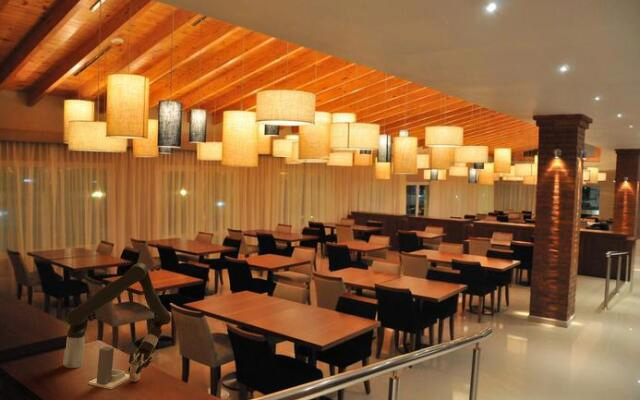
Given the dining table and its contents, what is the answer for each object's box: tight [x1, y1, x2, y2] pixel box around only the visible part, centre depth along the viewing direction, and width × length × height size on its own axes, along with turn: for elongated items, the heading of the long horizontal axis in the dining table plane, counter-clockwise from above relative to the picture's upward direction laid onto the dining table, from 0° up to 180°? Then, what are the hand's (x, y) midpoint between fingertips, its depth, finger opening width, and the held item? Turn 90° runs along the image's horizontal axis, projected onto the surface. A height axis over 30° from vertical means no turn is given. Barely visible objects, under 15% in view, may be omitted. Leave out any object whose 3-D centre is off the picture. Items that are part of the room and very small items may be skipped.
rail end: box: [128, 360, 142, 383], centre depth 263 cm, size 4×4×10 cm
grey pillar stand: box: [88, 346, 130, 390], centre depth 261 cm, size 14×18×19 cm
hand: (133, 372), depth 261 cm, fingers closed on rail end, 4 cm apart
